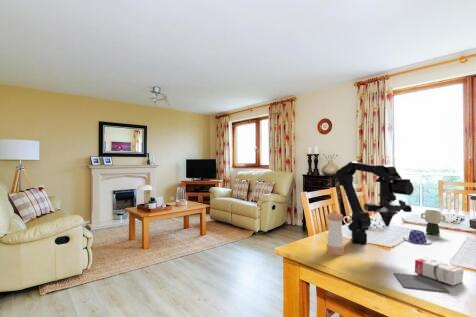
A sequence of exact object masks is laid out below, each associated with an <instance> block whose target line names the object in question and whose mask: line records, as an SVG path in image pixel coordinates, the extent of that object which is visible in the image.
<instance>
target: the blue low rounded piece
mask: <svg viewBox="0 0 476 317" xmlns="http://www.w3.org/2000/svg"><path fill="white" fill-rule="evenodd" d="M408 236H409V238H408V240H406V239H404V240H405V241H407V242H411V243H414V244H415V243H416V244H420V245H421V244H423V245H424V244H427V245H428V244H432V240H431V239H428V238H426V234H425V232H424V231H422V230H419V229H411V230H410V232H409V235H408Z"/></svg>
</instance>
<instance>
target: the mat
mask: <svg viewBox="0 0 476 317" xmlns="http://www.w3.org/2000/svg"><path fill="white" fill-rule="evenodd" d="M393 274H394V276H395V277H396V279H397V280H398V282H399V283H400V285H401V286H402V287H403V288H404V289H412V290H413V289H414V290H421V291H431V292H437V291H439V292H438V293H447V294H448V293H449V294H450V290H448V289H447V287H445V286H444V285H443V284H442V282H441V281H438V280H435V279H432V278H429V277H426V276H423V275H420V274H408V273H400V272H393Z"/></svg>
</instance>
